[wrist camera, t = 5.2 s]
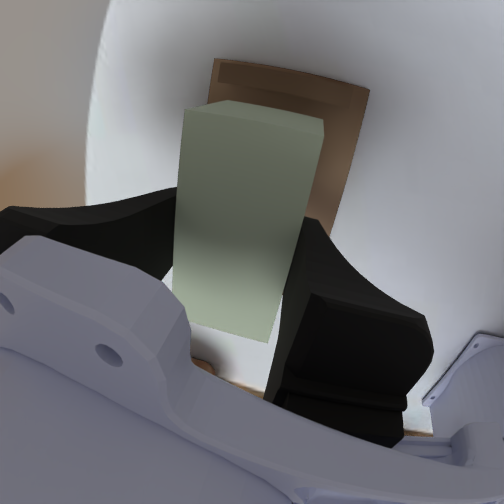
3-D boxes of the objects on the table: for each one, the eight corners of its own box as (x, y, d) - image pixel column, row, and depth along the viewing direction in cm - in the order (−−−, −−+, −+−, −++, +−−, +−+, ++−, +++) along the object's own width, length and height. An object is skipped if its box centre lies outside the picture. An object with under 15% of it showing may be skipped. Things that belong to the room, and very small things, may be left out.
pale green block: (282, 279, 16) (267, 343, 12) (206, 259, 16) (172, 316, 13) (323, 119, 12) (324, 136, 8) (227, 100, 12) (185, 109, 8)
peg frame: (313, 279, 20) (311, 305, 18) (194, 248, 21) (179, 269, 19) (368, 89, 14) (376, 90, 12) (217, 59, 15) (200, 55, 13)
